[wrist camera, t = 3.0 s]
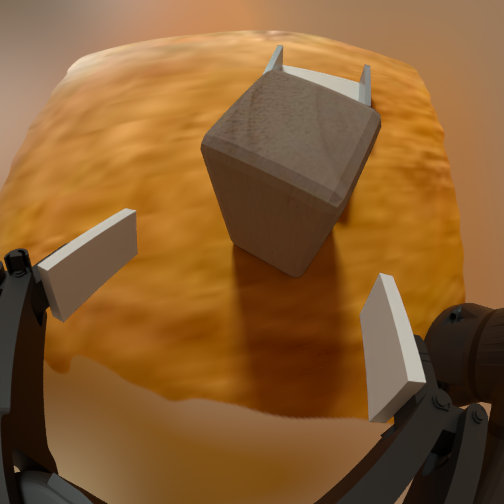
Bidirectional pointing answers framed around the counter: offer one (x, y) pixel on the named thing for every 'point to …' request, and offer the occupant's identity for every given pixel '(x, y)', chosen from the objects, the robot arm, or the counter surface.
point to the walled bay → (327, 78)
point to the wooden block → (287, 166)
